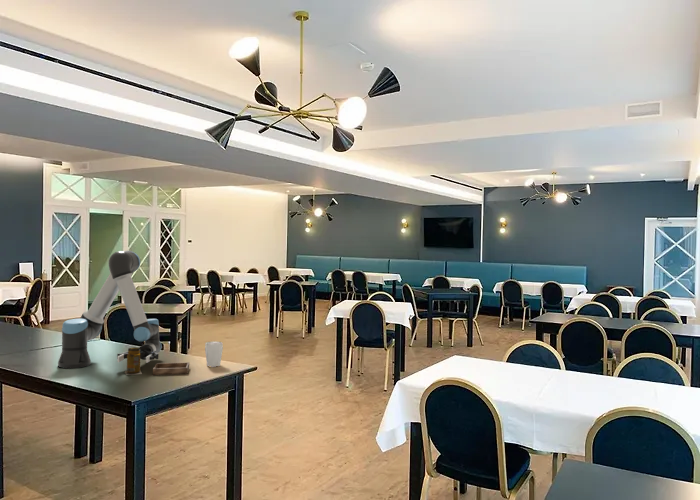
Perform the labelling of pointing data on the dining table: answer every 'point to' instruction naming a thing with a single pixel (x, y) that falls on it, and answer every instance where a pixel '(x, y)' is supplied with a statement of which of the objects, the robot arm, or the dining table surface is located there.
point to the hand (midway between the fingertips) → (132, 359)
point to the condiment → (133, 361)
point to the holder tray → (170, 368)
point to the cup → (213, 353)
